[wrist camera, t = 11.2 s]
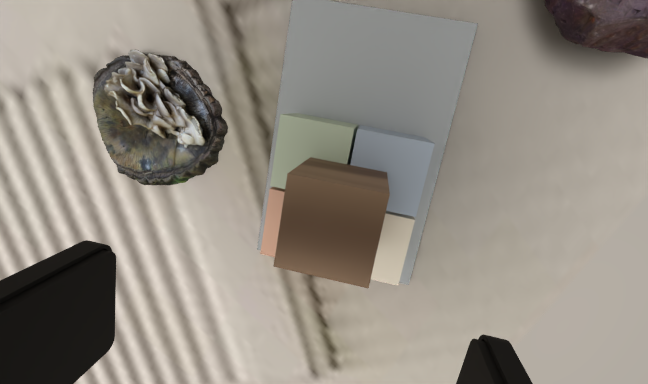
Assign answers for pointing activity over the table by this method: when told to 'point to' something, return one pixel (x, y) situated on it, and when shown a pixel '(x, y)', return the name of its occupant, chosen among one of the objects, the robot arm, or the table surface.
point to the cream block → (392, 247)
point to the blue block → (395, 164)
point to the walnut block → (332, 220)
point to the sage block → (310, 143)
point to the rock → (603, 24)
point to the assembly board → (375, 79)
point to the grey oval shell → (157, 118)
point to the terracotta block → (272, 221)
